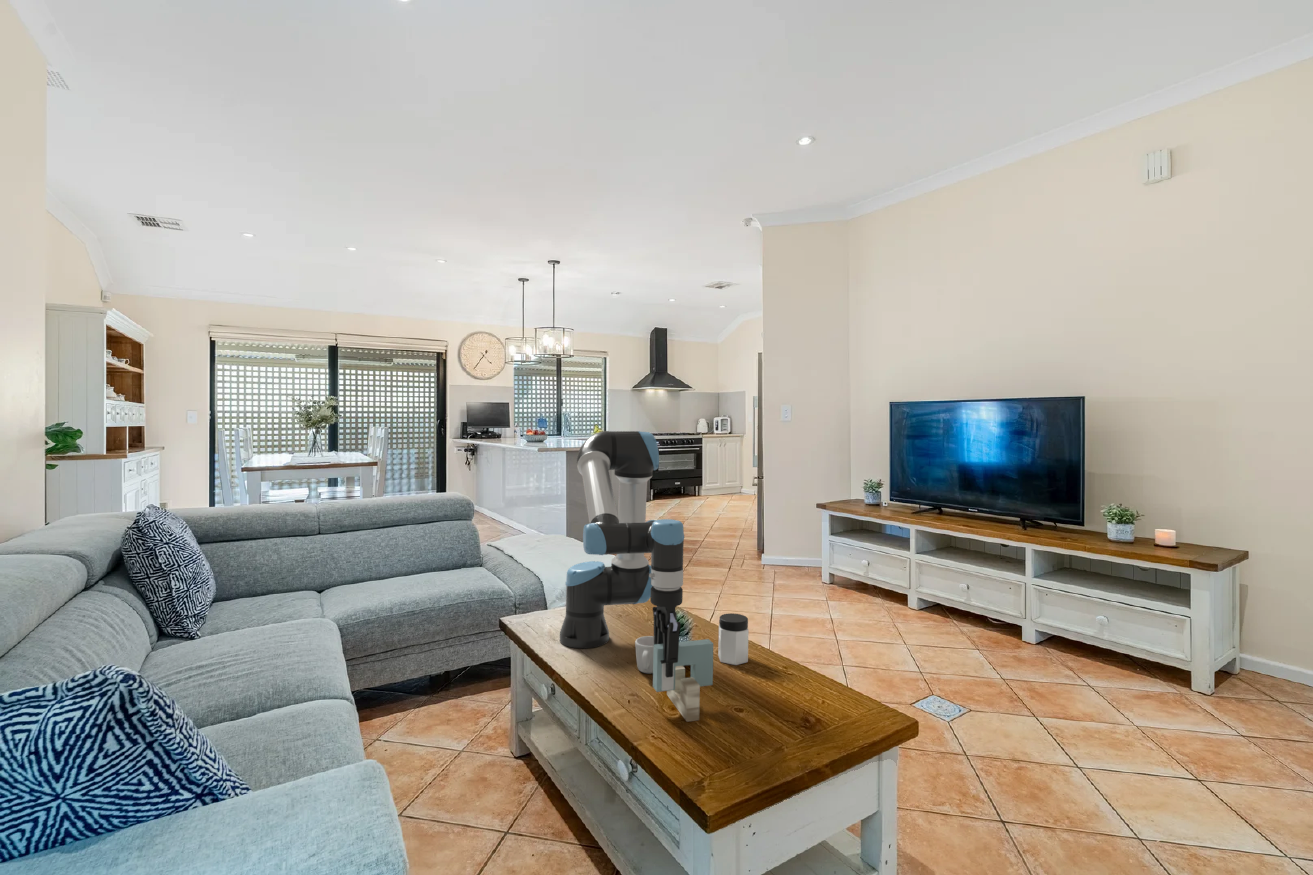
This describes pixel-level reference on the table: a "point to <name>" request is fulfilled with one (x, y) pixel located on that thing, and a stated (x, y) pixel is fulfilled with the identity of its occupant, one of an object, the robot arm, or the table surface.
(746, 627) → the jar
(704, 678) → the teal board
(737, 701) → the table surface
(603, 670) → the table surface
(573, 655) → the table surface
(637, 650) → the cup
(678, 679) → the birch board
